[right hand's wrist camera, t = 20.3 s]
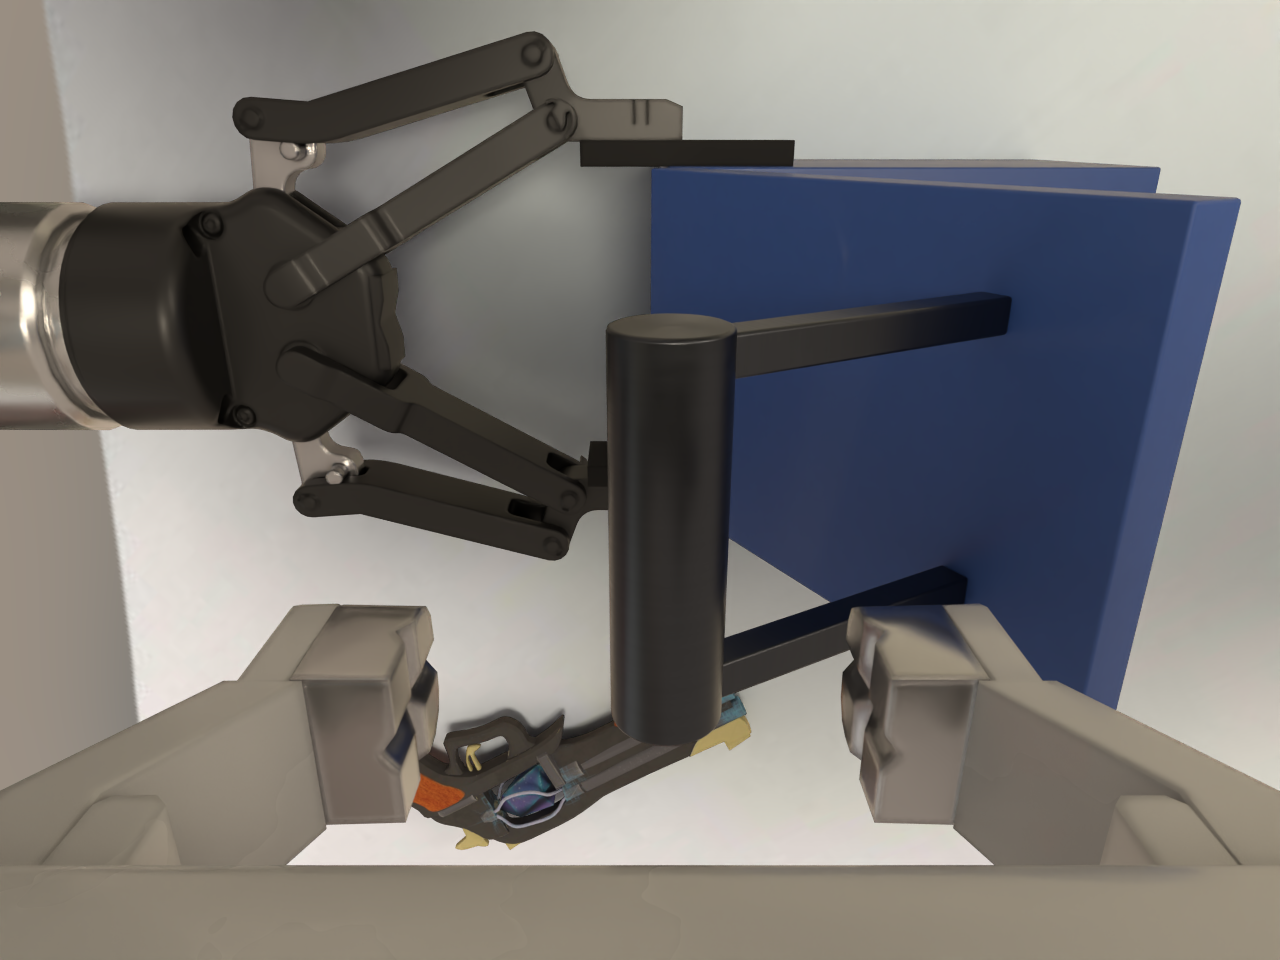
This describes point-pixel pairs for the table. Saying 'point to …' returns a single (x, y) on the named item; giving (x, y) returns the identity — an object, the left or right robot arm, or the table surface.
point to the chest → (979, 172)
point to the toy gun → (546, 774)
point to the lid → (896, 419)
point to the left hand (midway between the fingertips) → (776, 317)
